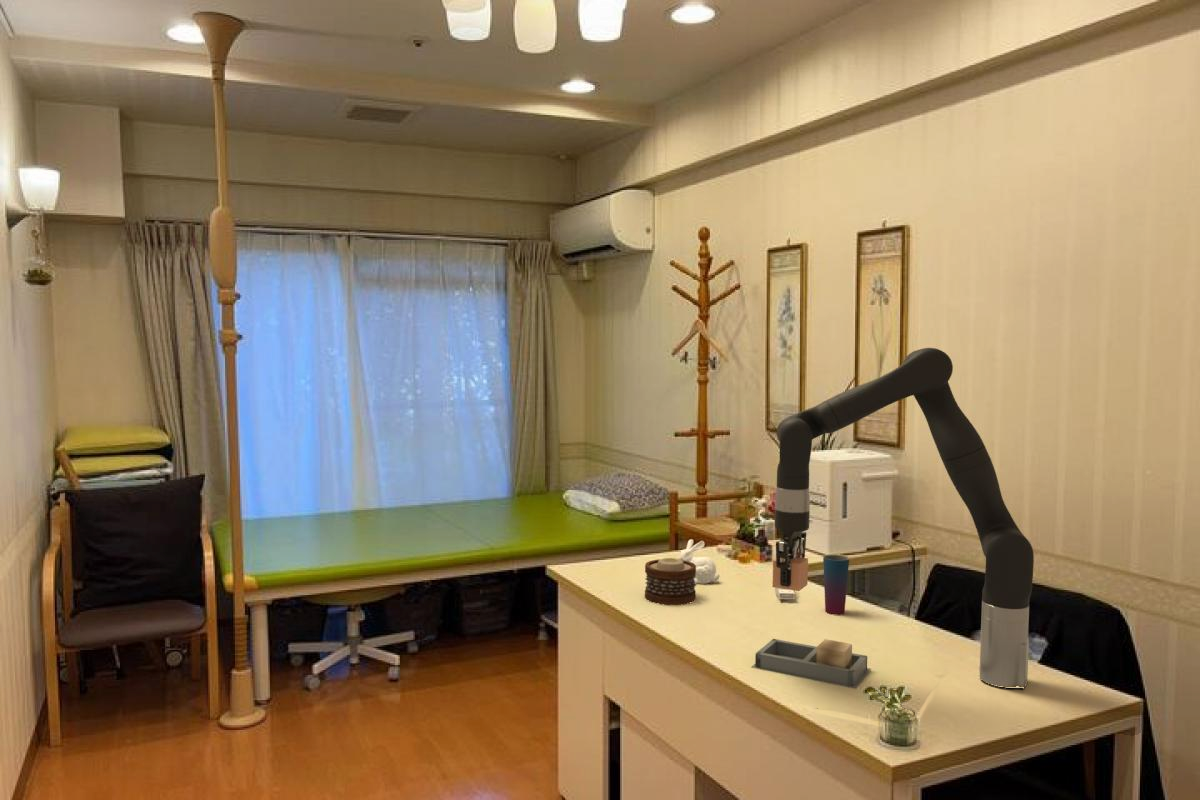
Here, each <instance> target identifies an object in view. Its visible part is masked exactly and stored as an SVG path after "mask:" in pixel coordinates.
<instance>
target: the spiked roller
mask: <svg viewBox="0 0 1200 800" xmlns="http://www.w3.org/2000/svg"><path fill="white" fill-rule="evenodd" d="M644 573H645V575H646V576H645V580H646V582H645V585H646V586H645V590H644V598H645V599H646V601H648V600H649V601H648V602H650V601H651V602H650V603H653V602H654V604H657V603H659V604H658V605H663V604H664V606H665V605H666V606H682V605H681V604H683V605H686V604H687V603H688V604H691V603H690V602H692V603H693V602H695V601H696V589H695V588H696V587H697V584H695V580H694V579H693V578H695V576H696V575H695V574H696V565H695V564H694V563H691V562H689V561H684V560H679V558H675V557H666V558H661V559H660V558H659V559H654V560H653V559H652V560H648V561H647V562H646V563H645V566H644ZM694 600H695V601H694Z"/></svg>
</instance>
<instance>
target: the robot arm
mask: <svg viewBox="0 0 1200 800" xmlns="http://www.w3.org/2000/svg"><path fill="white" fill-rule="evenodd" d="M953 368H954V366H953V361H952V359H951V357H950V356H949V355H948V354H947V353H946V352H945V351H943V350H941V349H938V348H936V347H935V348H934V347H925V348H920V349H917V350H914V351H911V352H910V353H909V354H908V355H907V356H906V357H905V359H904V360H903V361H902V364H901V365H899V366H897V368H895V369H893V370H891V371H889V372H888V373H885V374H884V375H881V376H879V377H878V378H875V379H873V380H870V381H868V382H866V383H863V384H860V385H858V386H855V387H852V388H850V389H847V390H846V391H842V392H840V393H838V394H837V395H833V397H831V398H828V399H826V400H824V401H822V402H821V403H819V404H817V405H815V406H813V407H810V408H807V409H803V410H802V411H799V412H797V413H794V414H792V415H789V416H788V417H786V418H784V419H782V420H781V421H780V422H779V424H778V425H777V428H776V438H777V439H778V442H779V462H778V465H777V469H776V489H775V490H776V491H775V496H774V497H775V498H774V528H775V529H776V530H779V531H781V537H780V538H779V539H780V540H778V541H776V542H775V559H776V567H778V568H780V569H781V571H780V585H781V586H786V587H789V586H790V585H791V568H792V561H793V560H795V557H799V558H800V557H801V558H806V545H807V544H806V543H807V532H806V531H808V530H809V529H810V511H811V510H810V509H811V506H810V505H811V497H810V462H811V455H812V447H813V440H814V439H816V438H819V437H821V436H823V435H826V434H833V433H836V432H838V431H840V430H842V429H844V428H846V427H848V426H850V425H852V424H854V423H856V422H858V421H860V420H863V419H864V418H866V417H868V416H870V415H872V414H874V413H875V412H877V411H879V410H882V409H883V408H885V407H887V406H890V405H892V404H895V403H897V402H898V401H901V400H904V399H906V398H909V397H911V396H913V397H914V399H915V401H916V402H917V404H918V406H919V407H920V409H921V412H922V413H923V416H924V418H925V420H926V422H927V425H928V428H929V431H930V433H931V436H932V439H933V441H934V444H935V446H936V450H937V452H938V454H939V457H940V459H941V461H942V464H943V465H944V469H945V470H946V473H947V475H948V477H949V479H950V481H951V483H952V485H953V486H954V488H955V490H956V491H957V493H958V495H959V496H960V498H961V500H962V501H963V503H964V505H965V506H966V507H967V509H968V512H969V514H970V515H971V518H972V521H973V524H974V526H975V529H976V532H977V535H978V538H979V542H980V544H981V545H980V546H981V550H982V553H983V555H984V556H985V571H984V585H983V588H982V591H981V593H982V594H981V595H982V596H981V598H982V599H981V616H980V617H981V621H980V623H981V624H980V650H979V653H980V655H979V667H978V668H979V677H980V678H979V679H982V680H983V681H984V682H987V683H989V684H993V685H997V686H1003V687H1016V686H1019V687H1025V684H1026V685H1027V683H1026V681H1027V682H1028V675H1029V673H1028V672H1029V671H1028V670H1029V648H1030V638H1029V622H1030V621H1029V617H1030V599H1031V595H1032V591H1033V582H1034V581H1033V578H1034V565H1035V564H1034V562H1035V560H1034V556H1035V555H1034V549H1033V546H1032V544H1031V542H1030V541H1029V540H1028V538H1027V537H1026V536H1025V535H1024V534H1023V532H1022V531H1021V530H1020V529H1019V527H1018V526H1017V524H1016V522H1015V520H1014V517H1012V514H1011V513H1010V511H1009V509H1008V508H1007V505H1006V503H1005V501H1004V499H1003V495H1002V491H1001V488H1000V484H999V480H998V475H997V473H996V470H995V467H994V464H993V460H992V458H991V457H990V454H989V452H988V449H987V447H986V445H985V443H984V441H983V439H982V438H981V436H980V433H978V431H977V429H976V428H975V427H974V425H973V423H971V421H970V420H969V418H968V417H967V415H965V413H964V412H963V411H962V408H960V406H959V405H958V402H957V400H956V398H955V396H954V394H953V392H952V389H951V387H950V384H949V381H950V379H951V377H952V374H953ZM784 559H785V563H783V562H784ZM983 681H982V682H983ZM984 682H983V683H984ZM989 684H988V685H989ZM1025 688H1026V687H1025Z"/></svg>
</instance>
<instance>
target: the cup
mask: <svg viewBox="0 0 1200 800" xmlns="http://www.w3.org/2000/svg"><path fill="white" fill-rule="evenodd" d="M822 560H823V561H822V562H823V583H824V584H823V585H824V589H823V590H824V609H825V610H824V611H825V613H826V612H827V613H826V614H828V613H829V615H832V614H838V615H837V616H842V615H844V614H846V613H845V611H846V603H847V602H846V598H847V590H848V589H847V588H848V578H849V566H850V565H849V564H850V557H849V556H847V555H843V554H825V555H823V556H822ZM841 614H842V615H841Z"/></svg>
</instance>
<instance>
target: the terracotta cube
mask: <svg viewBox="0 0 1200 800" xmlns="http://www.w3.org/2000/svg"><path fill="white" fill-rule="evenodd" d="M783 563H785V559H784V562H783ZM808 570H809V558H807V557H805V558H801V557H800V558H799V557H795V560H793V561H792V568H791V585H790V586H789V587H786V586H781V585H780V571H781V569H780V568H778V567H776V558H774V559H773V560H772V588H774V589H775V588H781V589H788V590H794V591H796V592H800V591H801V590H803V589H804V588H805V587H806V586H808V584H809V583H808V578H809V574H808V573H809V572H808Z"/></svg>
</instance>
